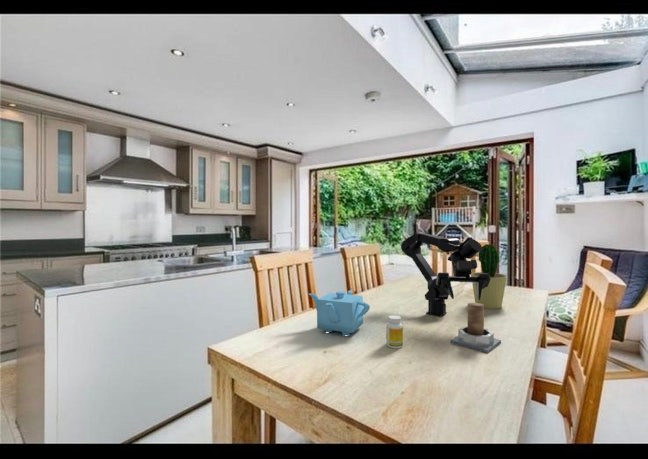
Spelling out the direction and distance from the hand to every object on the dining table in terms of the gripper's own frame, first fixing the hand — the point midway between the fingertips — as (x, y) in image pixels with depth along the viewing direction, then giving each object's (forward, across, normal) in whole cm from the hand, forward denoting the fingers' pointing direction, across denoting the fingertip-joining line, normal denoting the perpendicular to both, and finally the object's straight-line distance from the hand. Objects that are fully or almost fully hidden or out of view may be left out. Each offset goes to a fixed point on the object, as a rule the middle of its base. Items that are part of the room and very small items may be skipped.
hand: (466, 298), depth 124 cm
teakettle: (+13, -47, +5) cm, 49 cm away
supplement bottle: (+21, -26, -4) cm, 34 cm away
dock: (+17, 0, +1) cm, 17 cm away
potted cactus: (-20, +20, +38) cm, 47 cm away
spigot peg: (+16, 0, 0) cm, 16 cm away
